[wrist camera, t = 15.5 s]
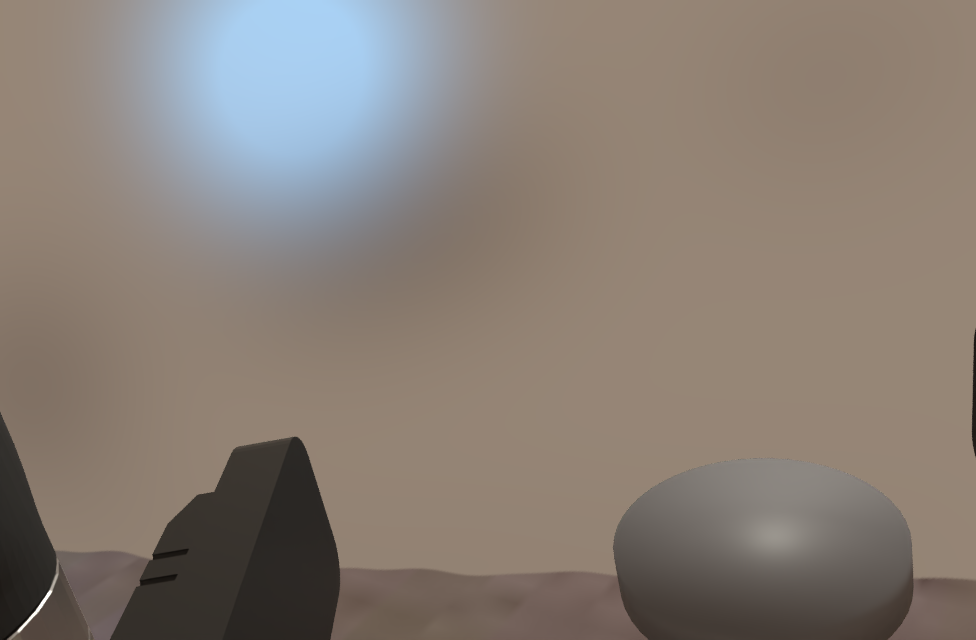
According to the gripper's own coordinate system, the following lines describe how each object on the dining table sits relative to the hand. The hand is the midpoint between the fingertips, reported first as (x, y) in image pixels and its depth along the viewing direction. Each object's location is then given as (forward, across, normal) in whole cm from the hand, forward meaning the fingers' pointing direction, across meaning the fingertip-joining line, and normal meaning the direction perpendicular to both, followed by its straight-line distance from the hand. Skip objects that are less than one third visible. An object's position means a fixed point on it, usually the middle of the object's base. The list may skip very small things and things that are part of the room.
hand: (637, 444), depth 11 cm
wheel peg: (+8, -4, +26) cm, 28 cm away
